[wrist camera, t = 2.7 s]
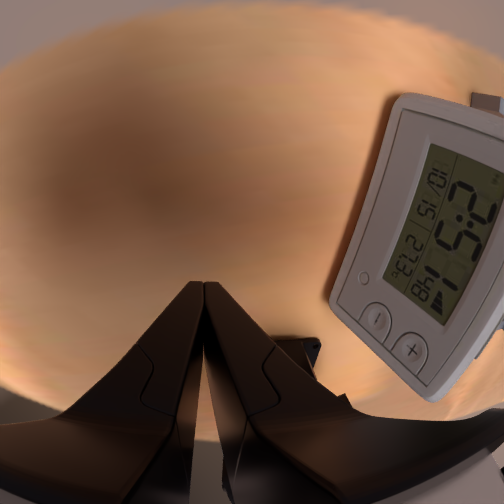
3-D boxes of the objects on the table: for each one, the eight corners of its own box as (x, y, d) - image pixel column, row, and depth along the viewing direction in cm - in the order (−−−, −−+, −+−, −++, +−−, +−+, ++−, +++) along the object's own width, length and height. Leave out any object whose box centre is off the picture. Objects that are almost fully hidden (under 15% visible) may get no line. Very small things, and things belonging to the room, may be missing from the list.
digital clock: (395, 77, 15) (538, 88, 5) (471, 147, 17) (580, 194, 8) (285, 291, 21) (338, 423, 11) (376, 317, 23) (439, 414, 14)
